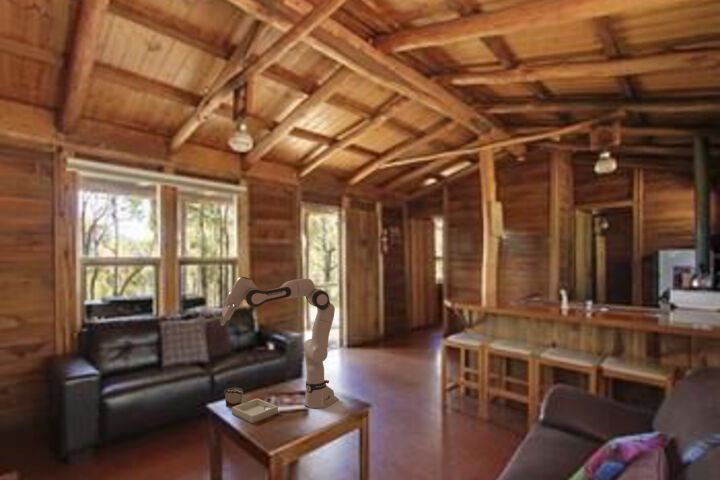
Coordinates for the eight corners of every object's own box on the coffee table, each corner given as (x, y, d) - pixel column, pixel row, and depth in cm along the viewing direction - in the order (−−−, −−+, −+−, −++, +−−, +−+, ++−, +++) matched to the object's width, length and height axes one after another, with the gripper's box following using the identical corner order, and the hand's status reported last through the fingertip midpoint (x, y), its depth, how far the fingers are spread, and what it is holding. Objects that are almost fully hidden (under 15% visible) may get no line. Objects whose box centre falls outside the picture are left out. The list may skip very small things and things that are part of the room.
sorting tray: (257, 404, 257) (257, 398, 257) (277, 413, 244) (277, 406, 244) (231, 414, 243) (231, 407, 243) (252, 423, 230) (252, 416, 230)
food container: (246, 404, 258) (246, 388, 258) (242, 408, 252) (241, 391, 252) (229, 402, 261) (229, 386, 261) (223, 406, 255) (223, 390, 255)
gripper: (239, 307, 231) (227, 329, 229) (236, 302, 250) (225, 322, 248) (229, 302, 229) (216, 325, 227) (226, 297, 248) (215, 318, 246)
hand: (221, 323), depth 237 cm, fingers open, 8 cm apart
